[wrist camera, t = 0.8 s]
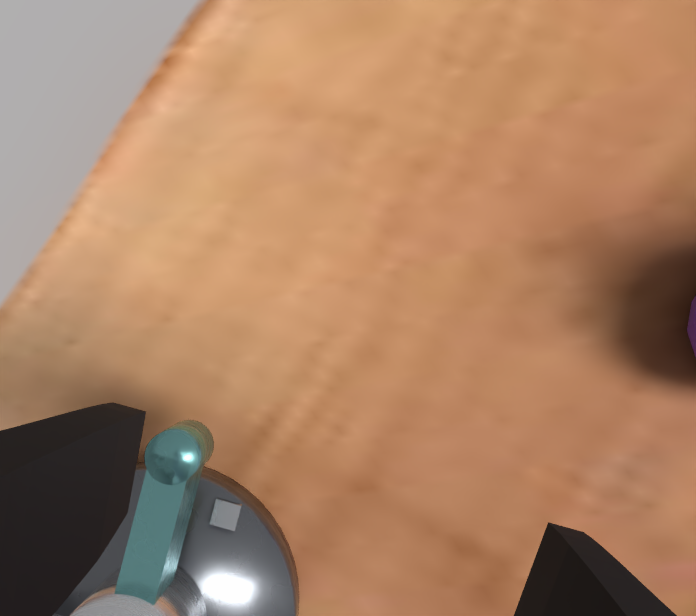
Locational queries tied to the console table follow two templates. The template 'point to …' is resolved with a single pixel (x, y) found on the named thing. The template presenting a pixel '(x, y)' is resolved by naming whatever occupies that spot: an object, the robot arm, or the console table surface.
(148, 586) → the teal ball-top lever
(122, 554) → the post plate
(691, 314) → the purple maraca
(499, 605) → the console table surface
